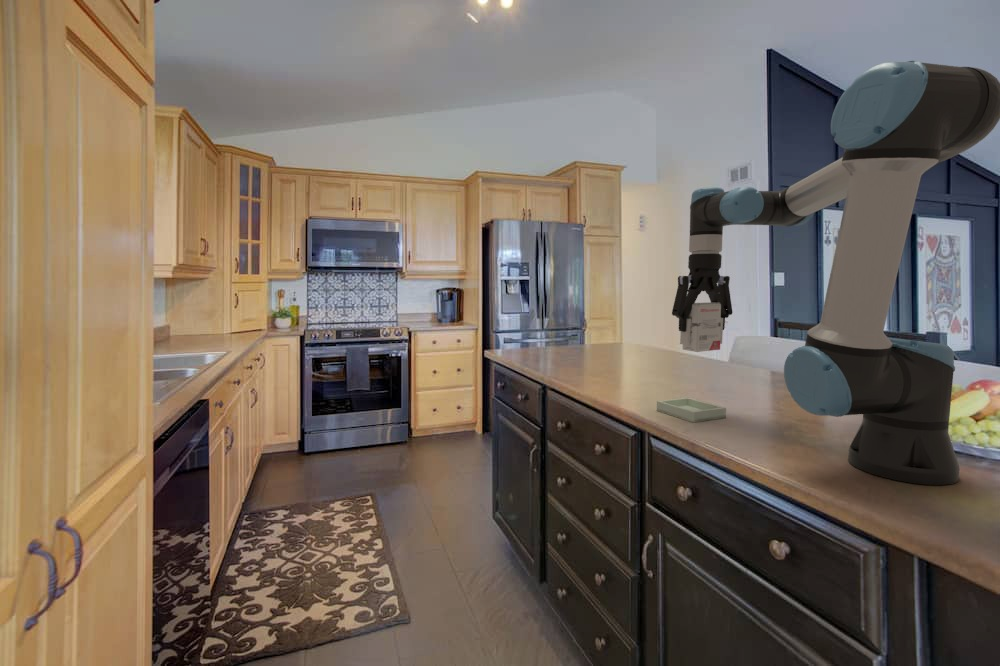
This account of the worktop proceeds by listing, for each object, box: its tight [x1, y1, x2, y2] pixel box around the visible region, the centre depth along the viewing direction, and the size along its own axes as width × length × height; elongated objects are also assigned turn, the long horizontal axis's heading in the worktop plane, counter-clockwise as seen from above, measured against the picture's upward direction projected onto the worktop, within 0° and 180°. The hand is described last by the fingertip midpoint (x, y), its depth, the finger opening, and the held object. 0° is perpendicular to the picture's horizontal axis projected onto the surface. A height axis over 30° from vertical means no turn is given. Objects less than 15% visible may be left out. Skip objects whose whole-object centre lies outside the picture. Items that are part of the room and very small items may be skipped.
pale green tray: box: [656, 397, 727, 423], centre depth 125 cm, size 13×11×2 cm
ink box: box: [682, 301, 721, 353], centre depth 123 cm, size 9×5×12 cm, turn 118°
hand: (701, 343), depth 123 cm, fingers closed on ink box, 9 cm apart
